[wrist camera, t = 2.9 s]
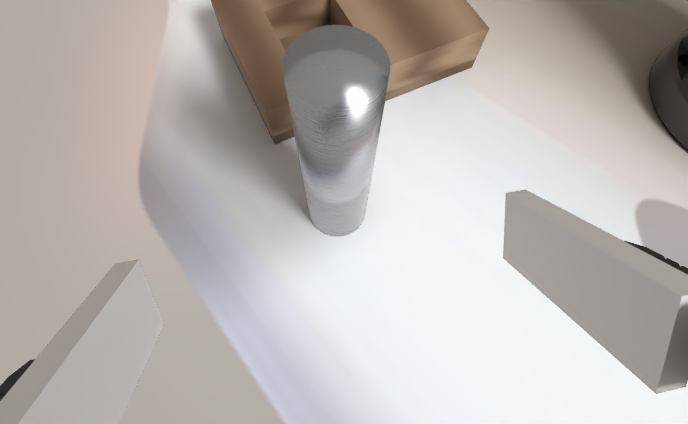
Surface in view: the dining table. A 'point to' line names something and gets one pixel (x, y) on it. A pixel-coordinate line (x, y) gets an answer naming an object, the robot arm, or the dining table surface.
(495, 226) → the dining table surface
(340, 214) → the metal peg
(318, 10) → the tool block
